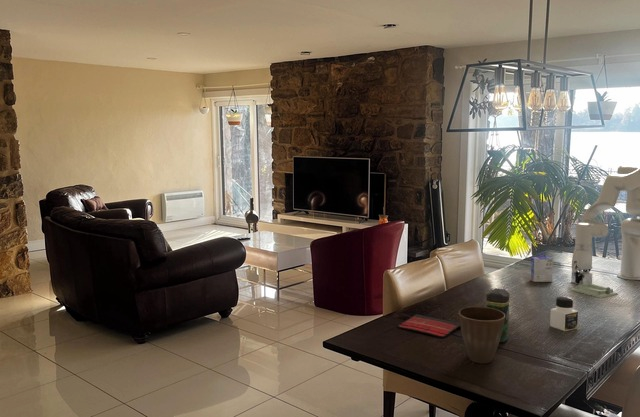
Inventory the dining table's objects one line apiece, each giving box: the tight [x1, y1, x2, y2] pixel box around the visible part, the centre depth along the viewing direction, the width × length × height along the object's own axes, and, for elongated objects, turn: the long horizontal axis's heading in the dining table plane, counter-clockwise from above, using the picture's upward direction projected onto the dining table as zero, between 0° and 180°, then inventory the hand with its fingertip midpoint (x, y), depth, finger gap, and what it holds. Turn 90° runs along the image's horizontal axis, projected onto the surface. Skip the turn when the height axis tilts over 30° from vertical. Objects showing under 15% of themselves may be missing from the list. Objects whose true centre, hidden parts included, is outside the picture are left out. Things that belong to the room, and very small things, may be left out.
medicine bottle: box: [549, 295, 579, 332], centre depth 218 cm, size 7×7×12 cm
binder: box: [397, 313, 461, 339], centre depth 220 cm, size 16×2×21 cm
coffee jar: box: [485, 288, 510, 343], centre depth 206 cm, size 10×8×19 cm
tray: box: [570, 281, 619, 299], centre depth 268 cm, size 12×16×4 cm
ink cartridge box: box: [530, 252, 554, 283], centre depth 290 cm, size 10×6×14 cm, turn 89°
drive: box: [570, 270, 593, 285], centre depth 284 cm, size 4×9×6 cm, turn 27°
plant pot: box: [458, 306, 505, 364], centre depth 187 cm, size 15×15×16 cm
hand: (581, 282), depth 284 cm, fingers closed on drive, 4 cm apart
